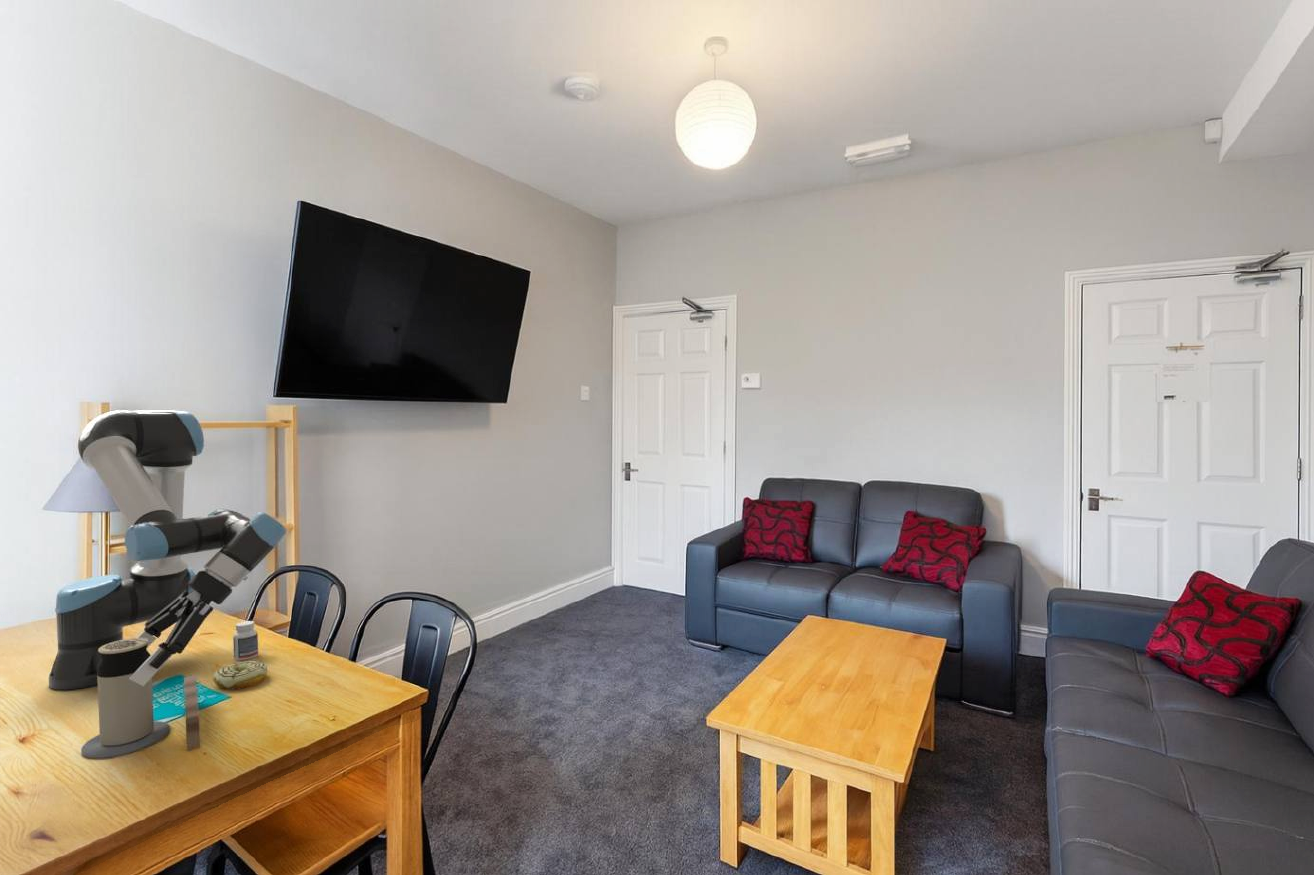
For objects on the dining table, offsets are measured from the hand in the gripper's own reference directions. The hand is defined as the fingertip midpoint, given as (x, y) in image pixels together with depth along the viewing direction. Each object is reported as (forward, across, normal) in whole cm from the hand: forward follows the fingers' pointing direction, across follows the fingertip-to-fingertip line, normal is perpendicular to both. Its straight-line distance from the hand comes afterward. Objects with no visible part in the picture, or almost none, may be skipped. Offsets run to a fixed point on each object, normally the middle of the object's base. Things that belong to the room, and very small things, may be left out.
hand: (128, 672), depth 120 cm
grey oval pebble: (+10, 0, -9) cm, 13 cm away
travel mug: (+9, +1, -9) cm, 13 cm away
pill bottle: (-10, +32, -30) cm, 45 cm away
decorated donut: (-6, +15, -26) cm, 30 cm away
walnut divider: (+3, -2, -16) cm, 16 cm away
